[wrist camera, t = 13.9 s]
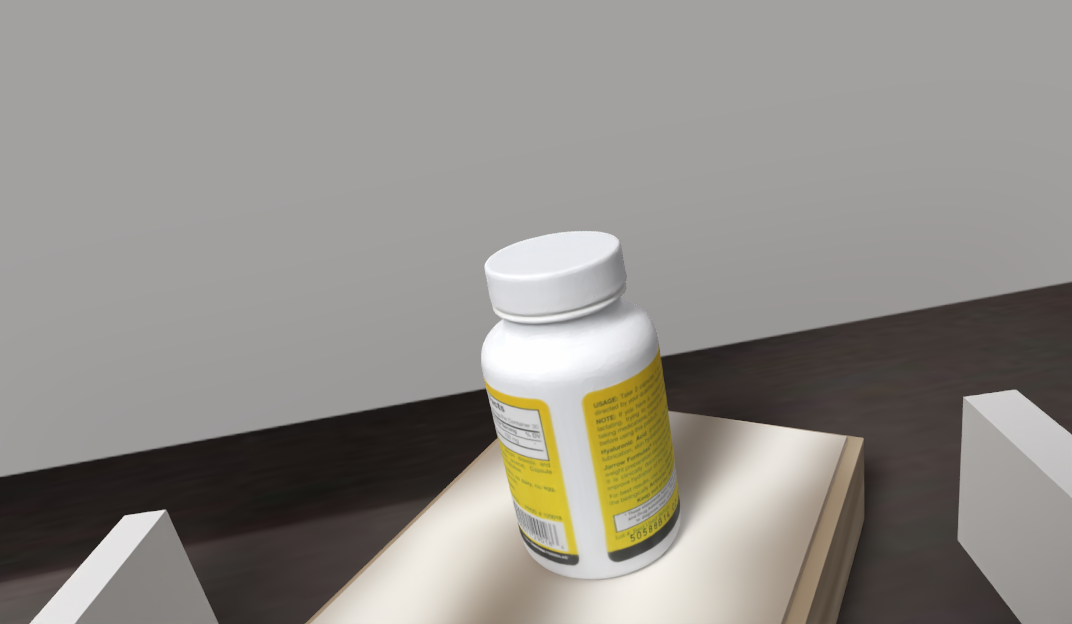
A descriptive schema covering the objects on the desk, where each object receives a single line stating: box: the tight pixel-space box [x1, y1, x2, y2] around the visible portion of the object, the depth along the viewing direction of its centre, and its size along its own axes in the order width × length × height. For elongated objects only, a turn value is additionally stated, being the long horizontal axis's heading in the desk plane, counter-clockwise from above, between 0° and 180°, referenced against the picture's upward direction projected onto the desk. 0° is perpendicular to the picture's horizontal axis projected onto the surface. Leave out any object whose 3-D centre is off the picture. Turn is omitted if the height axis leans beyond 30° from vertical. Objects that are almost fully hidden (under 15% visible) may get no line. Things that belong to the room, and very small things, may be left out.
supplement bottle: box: [481, 231, 681, 579], centre depth 22 cm, size 5×5×10 cm
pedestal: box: [305, 411, 864, 624], centre depth 25 cm, size 14×16×4 cm
